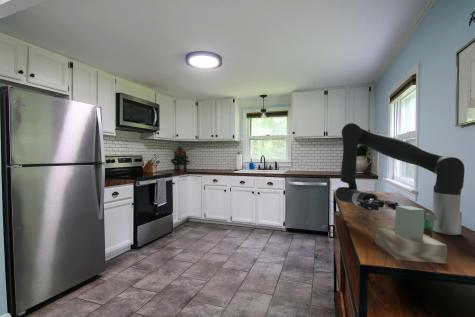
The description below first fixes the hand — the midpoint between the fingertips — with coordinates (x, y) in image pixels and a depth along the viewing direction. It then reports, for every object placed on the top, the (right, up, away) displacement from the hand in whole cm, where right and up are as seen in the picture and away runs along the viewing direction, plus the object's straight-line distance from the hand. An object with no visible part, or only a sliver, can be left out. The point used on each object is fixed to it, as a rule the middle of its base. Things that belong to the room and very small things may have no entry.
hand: (388, 208), depth 94 cm
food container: (+20, -13, +8) cm, 25 cm away
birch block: (0, -13, -11) cm, 17 cm away
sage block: (0, -7, -11) cm, 13 cm away
